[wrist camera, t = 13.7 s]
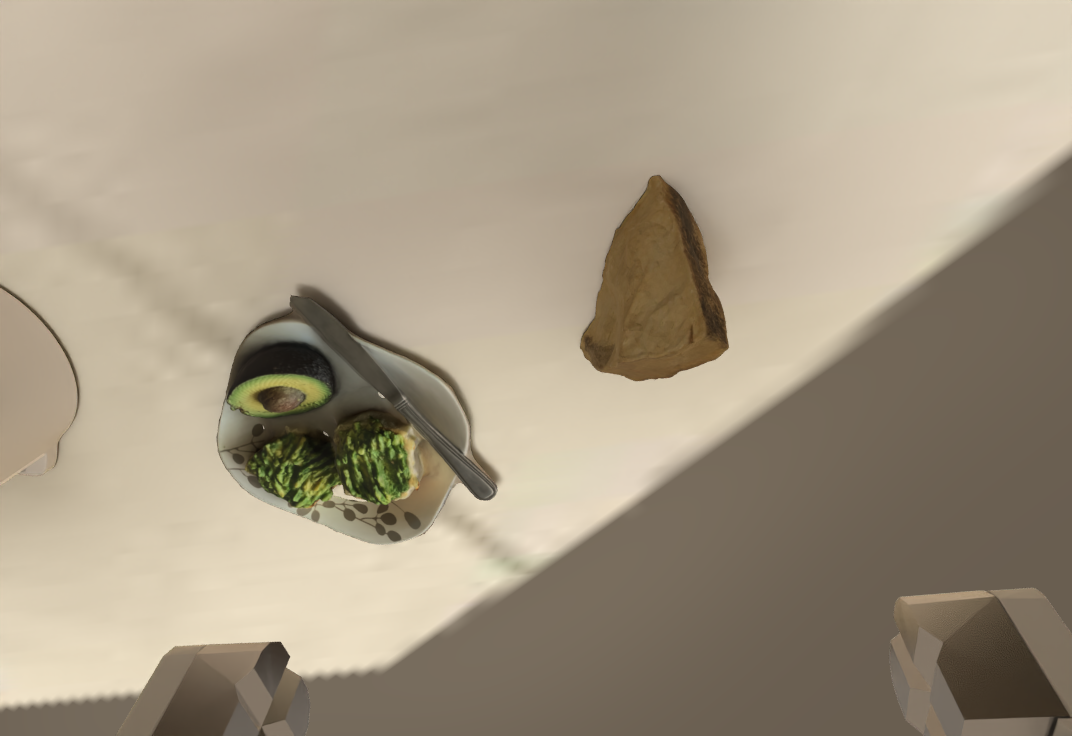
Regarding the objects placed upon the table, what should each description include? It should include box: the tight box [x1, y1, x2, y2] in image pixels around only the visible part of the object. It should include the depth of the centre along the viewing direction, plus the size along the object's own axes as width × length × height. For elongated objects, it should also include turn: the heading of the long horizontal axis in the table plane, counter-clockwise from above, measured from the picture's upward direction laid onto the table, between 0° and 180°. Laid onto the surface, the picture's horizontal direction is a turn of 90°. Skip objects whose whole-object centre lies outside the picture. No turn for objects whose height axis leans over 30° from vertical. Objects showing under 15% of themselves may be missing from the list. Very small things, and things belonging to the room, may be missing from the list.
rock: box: [580, 176, 729, 381], centre depth 38 cm, size 11×9×10 cm
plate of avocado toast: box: [217, 295, 497, 545], centre depth 47 cm, size 19×18×5 cm
